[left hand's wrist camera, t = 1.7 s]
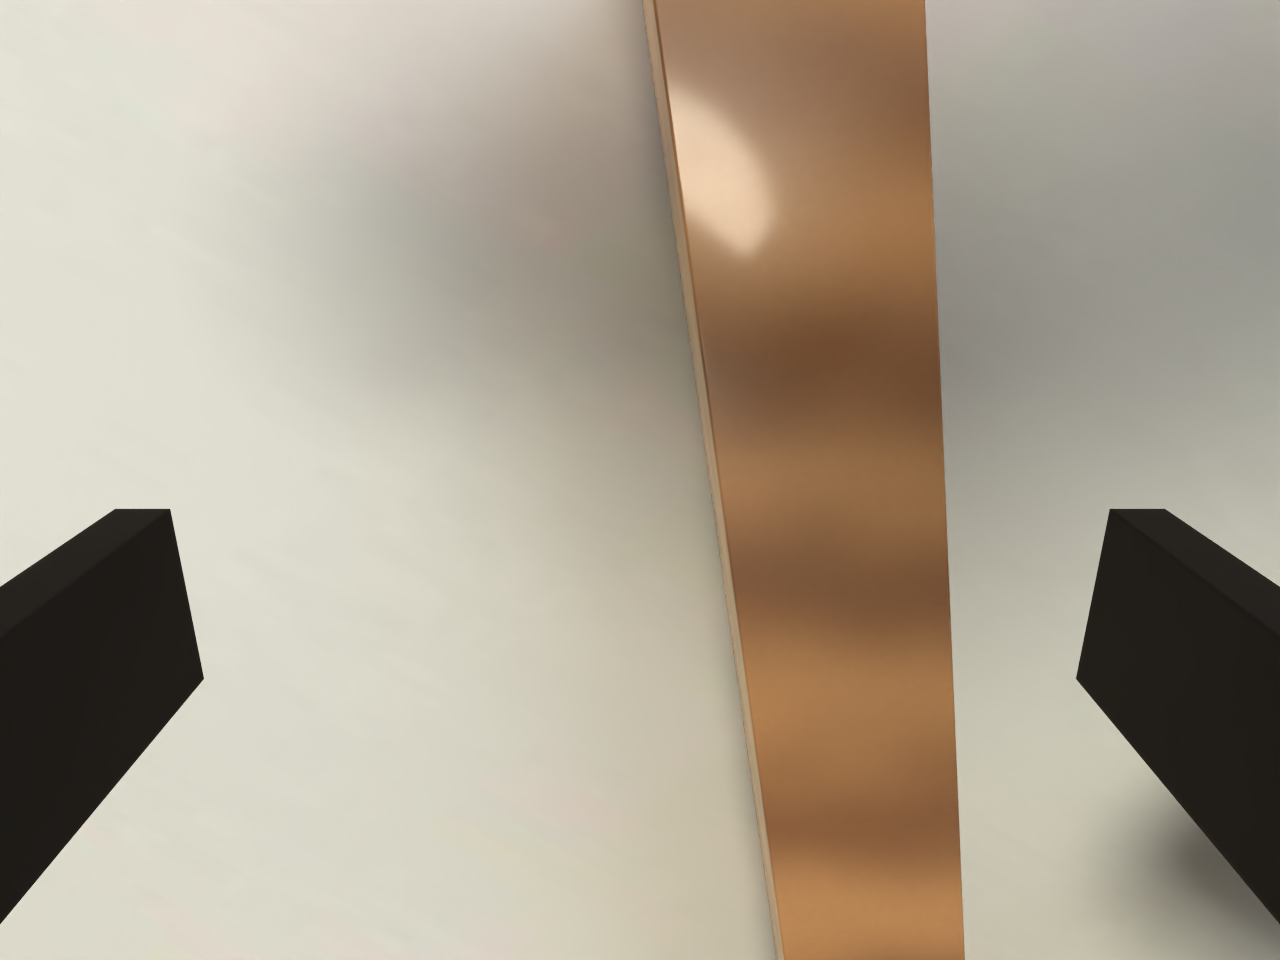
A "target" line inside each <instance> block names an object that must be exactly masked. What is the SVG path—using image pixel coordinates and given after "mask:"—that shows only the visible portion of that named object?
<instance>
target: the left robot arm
mask: <svg viewBox="0 0 1280 960" xmlns="http://www.w3.org/2000/svg"><path fill="white" fill-rule="evenodd" d="M203 679H204V677H203V672H202V667H201V662H200V657H199V652H198V647H197V642H196V637H195V632H194V627H193V622H192V617H191V612H190V606H189V601H188V596H187V591H186V586H185V581H184V576H183V571H182V566H181V561H180V556H179V551H178V546H177V541H176V536H175V531H174V526H173V521H172V516H171V511H170V509H114V510H113V511H112V512H110V513H109V514H107V515H106V516H104V517H103V518H101V519H100V520H98V521H97V522H95V523H94V524H92V525H91V526H89V527H88V528H86V529H85V530H83V531H82V532H81V533H79V534H78V535H76V536H75V537H73V538H72V539H70V540H69V541H67V542H66V543H64V544H63V545H61V546H60V547H58V548H57V549H55V550H54V551H53V552H51V553H50V554H48V555H47V556H45V557H44V558H42V559H41V560H39V561H38V562H36V563H35V564H33V565H32V566H30V567H29V568H27V569H26V570H24V571H23V572H22V573H20V574H19V575H17V576H16V577H14V578H13V579H11V580H10V581H8V582H7V583H5V584H4V585H2V586H1V587H0V924H1V923H2V921H3V920H4V919H5V918H6V917H7V915H8V914H9V913H10V912H11V910H12V909H13V908H14V907H15V906H16V904H17V903H18V902H19V901H20V900H21V898H22V897H23V896H24V895H25V894H26V892H27V891H28V890H29V889H30V888H31V886H32V885H33V884H34V883H35V882H36V880H37V879H38V878H39V877H40V876H41V874H42V873H43V872H44V871H45V870H46V868H47V867H48V866H49V865H50V864H51V862H52V861H53V860H54V859H55V857H56V856H57V855H58V854H59V853H60V851H61V850H62V849H63V848H64V847H65V845H66V844H67V843H68V842H69V841H70V839H71V838H72V837H73V836H74V835H75V833H76V832H77V831H78V830H79V829H80V827H81V826H82V825H83V824H84V823H85V821H86V820H87V819H88V818H89V817H90V815H91V814H92V813H93V812H94V811H95V809H96V808H97V807H98V806H99V804H100V803H101V802H102V801H103V800H104V798H105V797H106V796H107V795H108V794H109V792H110V791H111V790H112V789H113V788H114V786H115V785H116V784H117V783H118V782H119V780H120V779H121V778H122V777H123V776H124V774H125V773H126V772H127V771H128V770H129V768H130V767H131V766H132V765H133V764H134V762H135V761H136V760H137V759H138V758H139V756H140V755H141V754H142V753H143V752H144V750H145V749H146V748H147V747H148V745H149V744H150V743H151V742H152V741H153V739H154V738H155V737H156V736H157V735H158V733H159V732H160V731H161V730H162V729H163V727H164V726H165V725H166V724H167V723H168V721H169V720H170V719H171V718H172V717H173V715H174V714H175V713H176V712H177V711H178V709H179V708H180V707H181V706H182V705H183V703H184V702H185V701H186V700H187V699H188V697H189V696H190V695H191V694H192V692H193V691H194V690H195V689H196V688H197V686H198V685H199V684H200V683H201V682H202V680H203ZM1076 679H1077V680H1078V682H1079V683H1080V684H1081V685H1082V686H1083V688H1084V689H1085V690H1086V691H1087V692H1088V694H1089V695H1090V696H1091V697H1092V699H1093V700H1094V701H1095V702H1096V703H1097V705H1098V706H1099V707H1100V708H1101V709H1102V711H1103V712H1104V713H1105V714H1106V715H1107V717H1108V718H1109V719H1110V720H1111V721H1112V723H1113V724H1114V725H1115V726H1116V727H1117V729H1118V730H1119V731H1120V732H1121V733H1122V735H1123V736H1124V737H1125V738H1126V739H1127V741H1128V742H1129V743H1130V744H1131V745H1132V747H1133V748H1134V749H1135V750H1136V752H1137V753H1138V754H1139V755H1140V756H1141V758H1142V759H1143V760H1144V761H1145V762H1146V764H1147V765H1148V766H1149V767H1150V768H1151V770H1152V771H1153V772H1154V773H1155V774H1156V776H1157V777H1158V778H1159V779H1160V780H1161V782H1162V783H1163V784H1164V785H1165V786H1166V788H1167V789H1168V790H1169V791H1170V792H1171V794H1172V795H1173V796H1174V797H1175V798H1176V800H1177V801H1178V802H1179V803H1180V805H1181V806H1182V807H1183V808H1184V809H1185V811H1186V812H1187V813H1188V814H1189V815H1190V817H1191V818H1192V819H1193V820H1194V821H1195V823H1196V824H1197V825H1198V826H1199V827H1200V829H1201V830H1202V831H1203V832H1204V833H1205V835H1206V836H1207V837H1208V838H1209V839H1210V841H1211V842H1212V843H1213V844H1214V845H1215V847H1216V848H1217V849H1218V850H1219V851H1220V853H1221V854H1222V855H1223V856H1224V857H1225V859H1226V860H1227V861H1228V862H1229V864H1230V865H1231V866H1232V867H1233V868H1234V870H1235V871H1236V872H1237V873H1238V874H1239V876H1240V877H1241V878H1242V879H1243V880H1244V882H1245V883H1246V884H1247V885H1248V886H1249V888H1250V889H1251V890H1252V891H1253V892H1254V894H1255V895H1256V896H1257V897H1258V898H1259V900H1260V901H1261V902H1262V903H1263V904H1264V906H1265V907H1266V908H1267V909H1268V910H1269V912H1270V913H1271V914H1272V915H1273V917H1274V918H1275V919H1276V920H1277V921H1278V923H1279V924H1280V587H1279V586H1278V585H1276V584H1275V583H1273V582H1272V581H1270V580H1269V579H1267V578H1266V577H1264V576H1263V575H1261V574H1260V573H1258V572H1257V571H1256V570H1254V569H1253V568H1251V567H1250V566H1248V565H1247V564H1245V563H1244V562H1242V561H1241V560H1239V559H1238V558H1236V557H1235V556H1233V555H1232V554H1230V553H1229V552H1227V551H1226V550H1225V549H1223V548H1222V547H1220V546H1219V545H1217V544H1216V543H1214V542H1213V541H1211V540H1210V539H1208V538H1207V537H1205V536H1204V535H1202V534H1201V533H1199V532H1198V531H1197V530H1195V529H1194V528H1192V527H1191V526H1189V525H1188V524H1186V523H1185V522H1183V521H1182V520H1180V519H1179V518H1177V517H1176V516H1174V515H1173V514H1171V513H1170V512H1168V511H1167V510H1166V509H1110V511H1109V516H1108V521H1107V526H1106V531H1105V536H1104V541H1103V546H1102V551H1101V556H1100V561H1099V566H1098V571H1097V576H1096V581H1095V586H1094V591H1093V596H1092V601H1091V606H1090V611H1089V617H1088V622H1087V627H1086V632H1085V637H1084V642H1083V647H1082V652H1081V657H1080V662H1079V667H1078V672H1077V677H1076Z"/></svg>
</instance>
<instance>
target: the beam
mask: <svg viewBox="0 0 1280 960" xmlns="http://www.w3.org/2000/svg"><path fill="white" fill-rule="evenodd" d="M642 4H643V11H644V19H645V26H646V33H647V40H648V47H649V54H650V61H651V68H652V75H653V83H654V90H655V97H656V104H657V111H658V118H659V125H660V132H661V140H662V147H663V154H664V161H665V168H666V175H667V182H668V189H669V196H670V204H671V211H672V218H673V225H674V232H675V239H676V246H677V253H678V260H679V268H680V275H681V282H682V289H683V296H684V303H685V310H686V317H687V325H688V332H689V339H690V346H691V353H692V360H693V367H694V374H695V381H696V389H697V396H698V403H699V410H700V417H701V424H702V431H703V438H704V445H705V453H706V460H707V467H708V474H709V481H710V488H711V495H712V502H713V510H714V517H715V524H716V531H717V538H718V545H719V552H720V559H721V566H722V574H723V581H724V588H725V595H726V602H727V609H728V616H729V623H730V630H731V638H732V645H733V652H734V659H735V666H736V673H737V680H738V687H739V695H740V702H741V709H742V716H743V723H744V730H745V737H746V744H747V751H748V759H749V766H750V773H751V780H752V787H753V794H754V801H755V808H756V815H757V823H758V830H759V837H760V844H761V851H762V858H763V865H764V872H765V880H766V887H767V894H768V901H769V908H770V915H771V922H772V929H773V936H774V944H775V951H776V958H777V960H965V953H964V929H963V905H962V881H961V857H960V833H959V809H958V785H957V761H956V737H955V713H954V689H953V664H952V640H951V616H950V592H949V568H948V544H947V520H946V496H945V472H944V448H943V424H942V400H941V376H940V352H939V328H938V304H937V280H936V256H935V232H934V208H933V183H932V159H931V135H930V111H929V87H928V63H927V39H926V15H925V0H642Z"/></svg>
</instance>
